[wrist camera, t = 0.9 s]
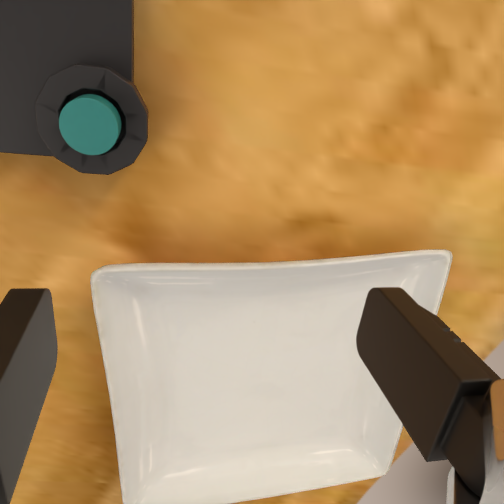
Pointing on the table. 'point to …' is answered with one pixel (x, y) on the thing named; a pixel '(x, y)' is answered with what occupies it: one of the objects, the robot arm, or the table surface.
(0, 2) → the scale
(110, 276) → the square plate
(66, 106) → the button
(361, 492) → the table surface
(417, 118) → the table surface
